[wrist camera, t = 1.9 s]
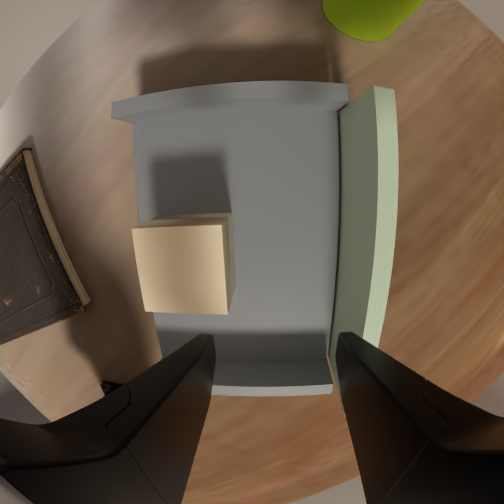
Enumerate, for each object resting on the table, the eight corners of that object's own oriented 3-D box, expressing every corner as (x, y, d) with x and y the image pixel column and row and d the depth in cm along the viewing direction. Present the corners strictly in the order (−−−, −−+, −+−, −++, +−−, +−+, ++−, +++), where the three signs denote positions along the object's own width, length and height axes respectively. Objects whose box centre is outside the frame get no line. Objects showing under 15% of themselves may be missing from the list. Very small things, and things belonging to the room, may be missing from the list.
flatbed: (169, 355, 23) (153, 388, 19) (142, 113, 18) (111, 102, 13) (322, 357, 22) (331, 393, 18) (331, 101, 17) (348, 84, 12)
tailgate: (327, 353, 21) (344, 415, 15) (337, 113, 16) (373, 85, 10) (339, 352, 21) (359, 414, 15) (351, 114, 16) (394, 89, 10)
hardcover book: (97, 300, 23) (84, 312, 21) (4, 339, 27) (-5, 347, 24) (35, 147, 19) (18, 147, 17) (-40, 239, 23) (-51, 244, 20)
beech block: (166, 285, 20) (145, 311, 16) (158, 215, 18) (131, 228, 14) (235, 285, 19) (227, 314, 15) (232, 212, 18) (221, 224, 14)
